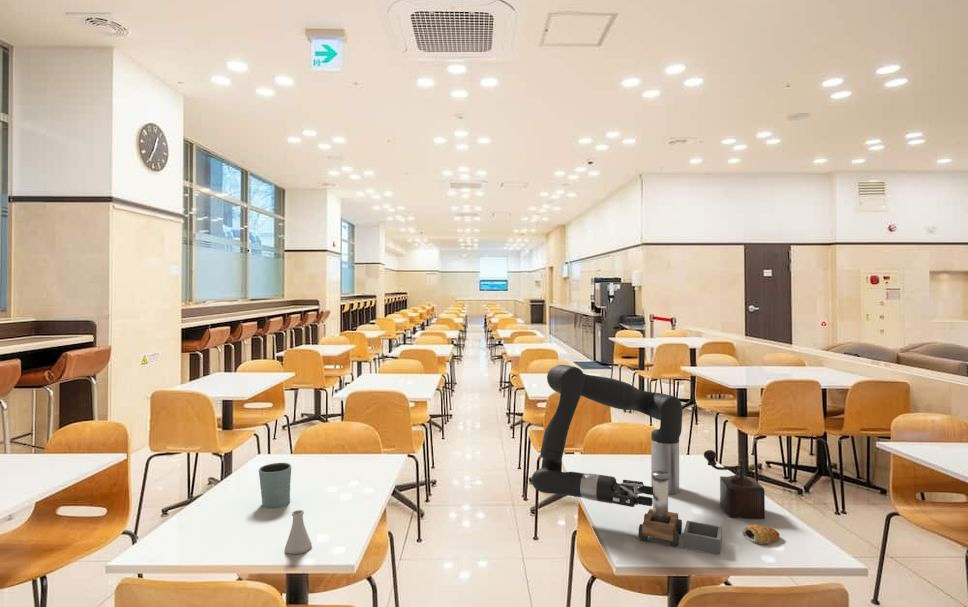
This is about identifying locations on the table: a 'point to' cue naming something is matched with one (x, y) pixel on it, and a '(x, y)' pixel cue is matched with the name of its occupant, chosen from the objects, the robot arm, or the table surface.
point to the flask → (298, 535)
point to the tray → (702, 537)
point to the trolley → (661, 528)
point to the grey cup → (275, 484)
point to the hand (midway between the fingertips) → (655, 496)
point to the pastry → (760, 534)
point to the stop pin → (660, 496)
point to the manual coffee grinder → (739, 492)
